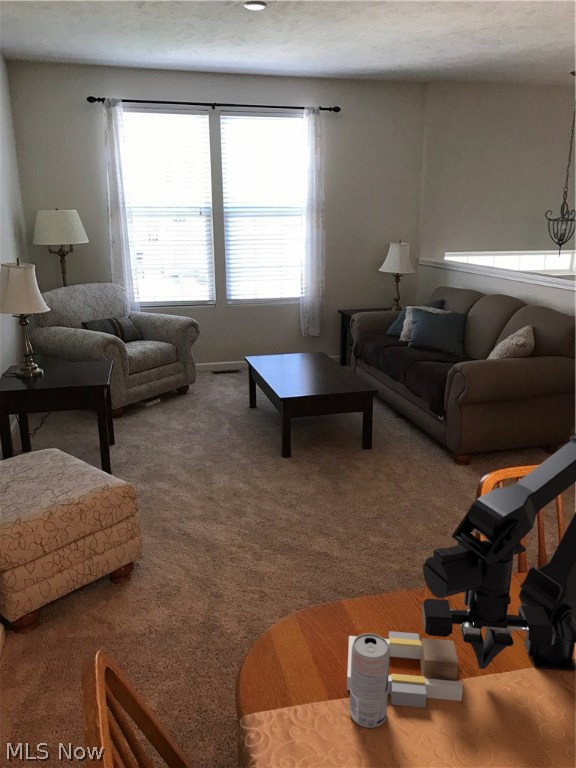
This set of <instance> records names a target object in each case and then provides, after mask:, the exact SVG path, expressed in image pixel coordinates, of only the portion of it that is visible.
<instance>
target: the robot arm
mask: <svg viewBox="0 0 576 768" xmlns="http://www.w3.org/2000/svg"><path fill="white" fill-rule="evenodd" d="M575 483H576V433H574V434H572V435H571V436H570V437H569V438H568V440H567V441H566V444H565V445H563V446H562V447H561V448H559V449H558V450H556V452H554V453H552V455H550V456H549V457H548V458H546V459H545V460H543V462H541V463H540V464H539V465H537V466H536V467H535V468H534V469H533V470H531V471H529V473H527V474H525V475H524V476H523V477H522V478H521V479H520V480H518V481H517V482H515V483H513V484H512V485H509V486H504V487H503V486H502V487H498V488H494V489H492V490H491V491H488V492H486V493H485V494H483V495H481V496H479V497H478V498H477V499H476V500H475V501H473V503H471V505H470V507H469V509H468V510H467V512H466V513H465V515H464V517H463V518H462V520H461V521H460V523H459V525H458V526H457V527H456V529H455V530H454V531H453V534H452V535H451V538H452V539H453V540H454V541H456V542H457V545H453V546H449V547H440V548H436V549H434V550H433V556H429V557H427V558H426V560H425V562H424V563H423V566H422V572H423V578H424V582H425V584H426V586H427V589H428V590H429V592H430V593H431V594H432V595H433V596H434V597H435V598H425V600H423V602H422V604H421V605H422V607H421V613H422V623H423V628H424V634H426V635H428V636H430V637H440V638H441V637H442V638H447V637H449V636H450V635H452V634H453V625H459V628H460V629H459V630H460V632H461V636H462V640H463V642H465V643H467V644H470V646H471V647H472V649H473V651H474V654H475V658H476V661H477V666H478V669H481V670H486V669H487V667H488V666H489V664H491V662H492V661H493V660H494V659H495V658H496V657H497V656H498V655H499V654H500V653H501V652H503V651H504V650H505V649H506V648H507V647H513V646H514V643H515V642H514V639H513V636H512V633H513V631H519V632H525V639H524V646H525V649H526V653H527V654H528V656H529V657H530V659H531V662H532V664H533V666H534V667H535V668H541V669H552V670H553V669H555V670H564V671H573V672H574V671H576V663H575V661H574V652H575V646H576V511H575V512H574V514H573V516H572V518H571V519H570V521H569V524H568V525H567V527H566V529H565V532H564V533H563V535H562V537H561V539H560V540H559V543H558V545H557V547H556V549H555V550H554V553H553V555H552V556H551V558H550V560H549V561H548V562H547V563H545V564H544V565H542V566H540V567H538V568H537V567H535V566H532V567H531V568H529V569H528V571H527V575H526V576H525V578H524V580H523V582H522V583H521V584H520V585H519V588H520V591H519V593H518V598H519V602H520V605H519V606H518V610H517V614H509V611H508V609H509V605H511V601H512V600H511V599H512V598H511V596H510V592H511V591H510V590H511V583H512V582H511V581H512V574H513V566H514V565H513V564H514V558H515V555H518V554H522V553H525V552H526V551H527V547H526V546H525V545H523V544H522V543H521V541H522V540H523V539H524V538H525V537H526V536H527V535H528V534H529V532H530V531H531V530H532V529H533V528H534V525H535V521H536V517H537V515H538V514H539V513H540V511H541V510H543V508H545V507H546V506H548V505H549V504H550V503H551V502H552V501H554V500H555V499H556V498H557V497H559V496H560V495H561V494H563V493H564V492H565V491H567V489H569V488H570V487H571V486H572V485H574V484H575ZM473 531H474V532H476V533H478V534H479V535H481V536H482V537H484V538H485V539H484V540H481V539H479V538H478V537H476V536H475V535H474V534H472V532H473ZM462 593H463V595H464V596H463V603H464V605H465V606H467V609H466V610H465V609H454V608H451V606H450V601H449V599H445V598H447V597H451V596H455V595H458V594H462ZM436 598H437V599H436ZM482 628H483V629H485V636H484V638H483V634H482Z"/></svg>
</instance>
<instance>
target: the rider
mask: <svg viewBox="0 0 576 768" xmlns="http://www.w3.org/2000/svg"><path fill="white" fill-rule="evenodd" d="M421 642H422V643H421V657H420V659H419V660H420V661H419V666H420V667H419V668H420V672H421V673H420V676H423V677H425V678H426V679H437V680H448V681H458V670H459V659H458V656H457V651H456V650H457V649H456V646H455V642H454V640H449V639H447V640H446V639H436V638H435V639H434V638H427V637H426V638H424V637H422V638H421Z"/></svg>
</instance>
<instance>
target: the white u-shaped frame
mask: <svg viewBox="0 0 576 768" xmlns="http://www.w3.org/2000/svg"><path fill="white" fill-rule="evenodd" d="M358 636H359V635H358ZM358 636H355V635H349V636H348V650H347V651H348V654H347V656H348V657H347V674H346V675H347V677H346V678H347V681H346V690H347V691H350V685H351V654H352V645H353V643H354V640H355V638H356V637H358ZM384 639H385V640H386V641H387V643H388V647H389V650H390V657H391V658H392V657H393V658H403V659H404V658H405V659H417V660H420V657H421V643H422V641H421V639H420V633H413V632H402V631H401V632H400V631H390V630H389V631H388V637H387V638H384ZM463 687H464V686H463V683H462V681H458V680H457V681H448V680H437V679H426V678H425V677H423V676H422V675H411V674H399V673H391V674H389V676H388V695H390V699H391V700H390V702H391V705H393V706H404V707H413V708H414V707H415V708H426V706H427V699H436V700H437V699H438V700H448V701H457V702H458V701H459V702H462V697H463Z"/></svg>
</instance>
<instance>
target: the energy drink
mask: <svg viewBox="0 0 576 768" xmlns="http://www.w3.org/2000/svg"><path fill="white" fill-rule="evenodd" d="M385 639H386V638H384V637H382V636H380V635H378V634H376V633H369V632H367V633H362V634H360V635H358V637H356V638H355V640H354V643H353V645H352V654H351V685H350V690H349V691H350V692H349V715H350V717H351V719H352V720H353V721H354V723H355V724H357V725H359V726H361V727H363V728H366V729H367V728H368V729H373V728H377V727H379V726H381V725H382V724H383V723H384V722H385V721H386V720H387V719H386V718H387V712H388V696H389V694H388V676H389V675H390V674H389V671H390V657H391V656H390V650H389V647H388V643H387V641H386V640H385Z"/></svg>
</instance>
